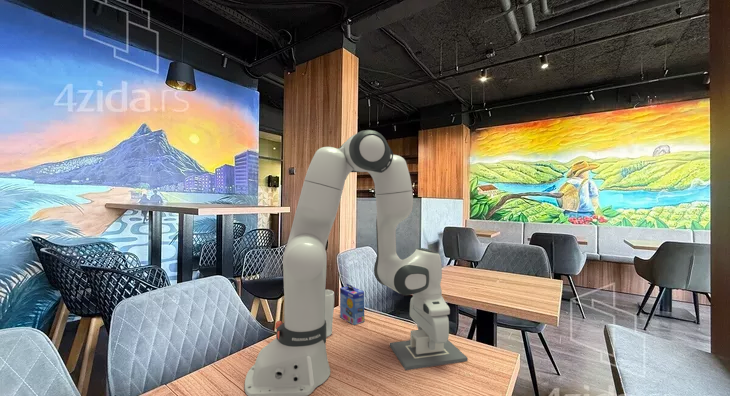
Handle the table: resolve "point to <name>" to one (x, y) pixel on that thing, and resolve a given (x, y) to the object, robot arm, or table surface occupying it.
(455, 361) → the board
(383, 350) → the table surface
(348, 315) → the ink cartridge box
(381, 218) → the robot arm
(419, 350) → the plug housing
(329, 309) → the drinking glass
